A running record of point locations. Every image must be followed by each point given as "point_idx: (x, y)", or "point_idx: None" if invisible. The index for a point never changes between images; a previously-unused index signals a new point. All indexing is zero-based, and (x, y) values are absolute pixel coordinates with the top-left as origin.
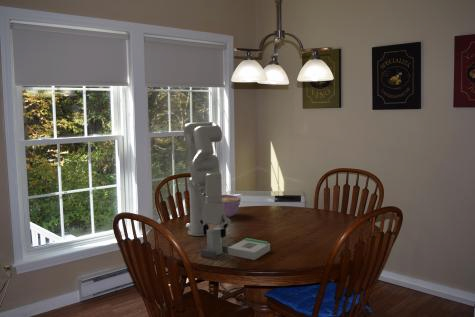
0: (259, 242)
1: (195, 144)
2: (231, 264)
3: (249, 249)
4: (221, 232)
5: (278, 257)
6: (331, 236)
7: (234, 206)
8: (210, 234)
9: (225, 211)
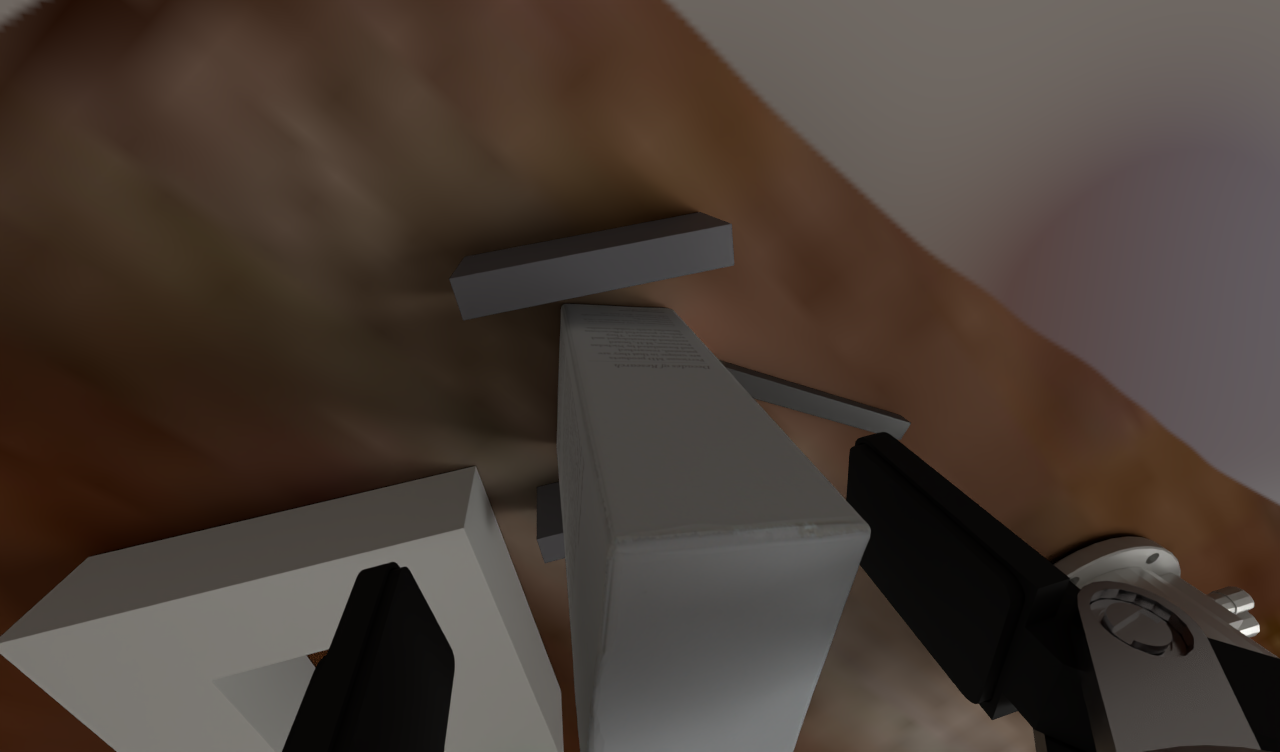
0: None
1: None
2: (84, 257)
3: (181, 661)
4: (319, 696)
5: (24, 747)
6: None
7: None
8: (665, 472)
9: None
